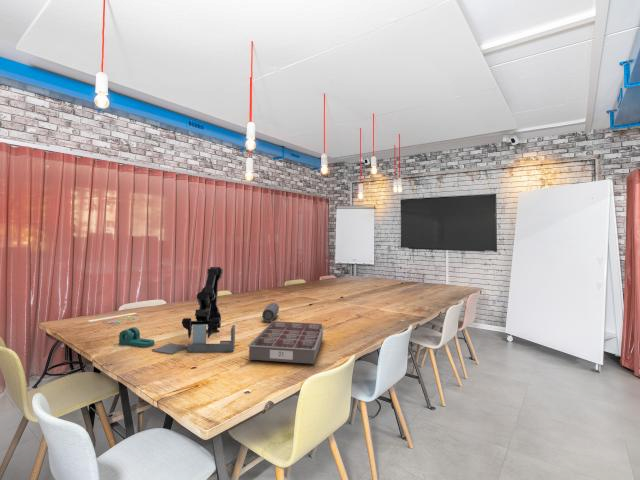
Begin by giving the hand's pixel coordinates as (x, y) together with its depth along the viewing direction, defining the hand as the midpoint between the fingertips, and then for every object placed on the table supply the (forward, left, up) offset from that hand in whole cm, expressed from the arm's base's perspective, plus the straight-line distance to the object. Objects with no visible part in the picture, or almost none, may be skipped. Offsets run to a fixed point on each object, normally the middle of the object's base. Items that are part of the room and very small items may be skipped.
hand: (198, 337), depth 167 cm
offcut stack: (+5, +12, -7) cm, 15 cm away
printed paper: (-86, -27, -8) cm, 90 cm away
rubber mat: (-10, -11, -7) cm, 17 cm away
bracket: (-27, -24, -7) cm, 37 cm away
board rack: (+2, +6, -7) cm, 9 cm away
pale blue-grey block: (-1, +1, -7) cm, 7 cm away
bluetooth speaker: (-41, +60, -7) cm, 73 cm away
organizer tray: (+21, +40, -7) cm, 46 cm away
